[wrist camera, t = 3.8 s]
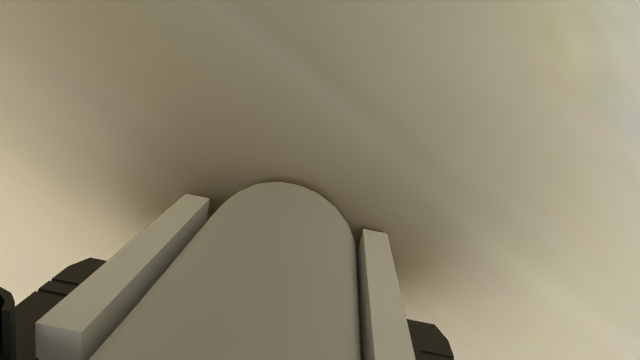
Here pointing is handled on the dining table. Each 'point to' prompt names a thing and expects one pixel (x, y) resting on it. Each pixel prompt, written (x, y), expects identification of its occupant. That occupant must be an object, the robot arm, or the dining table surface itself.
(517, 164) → the dining table surface
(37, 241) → the dining table surface
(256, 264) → the beverage can
